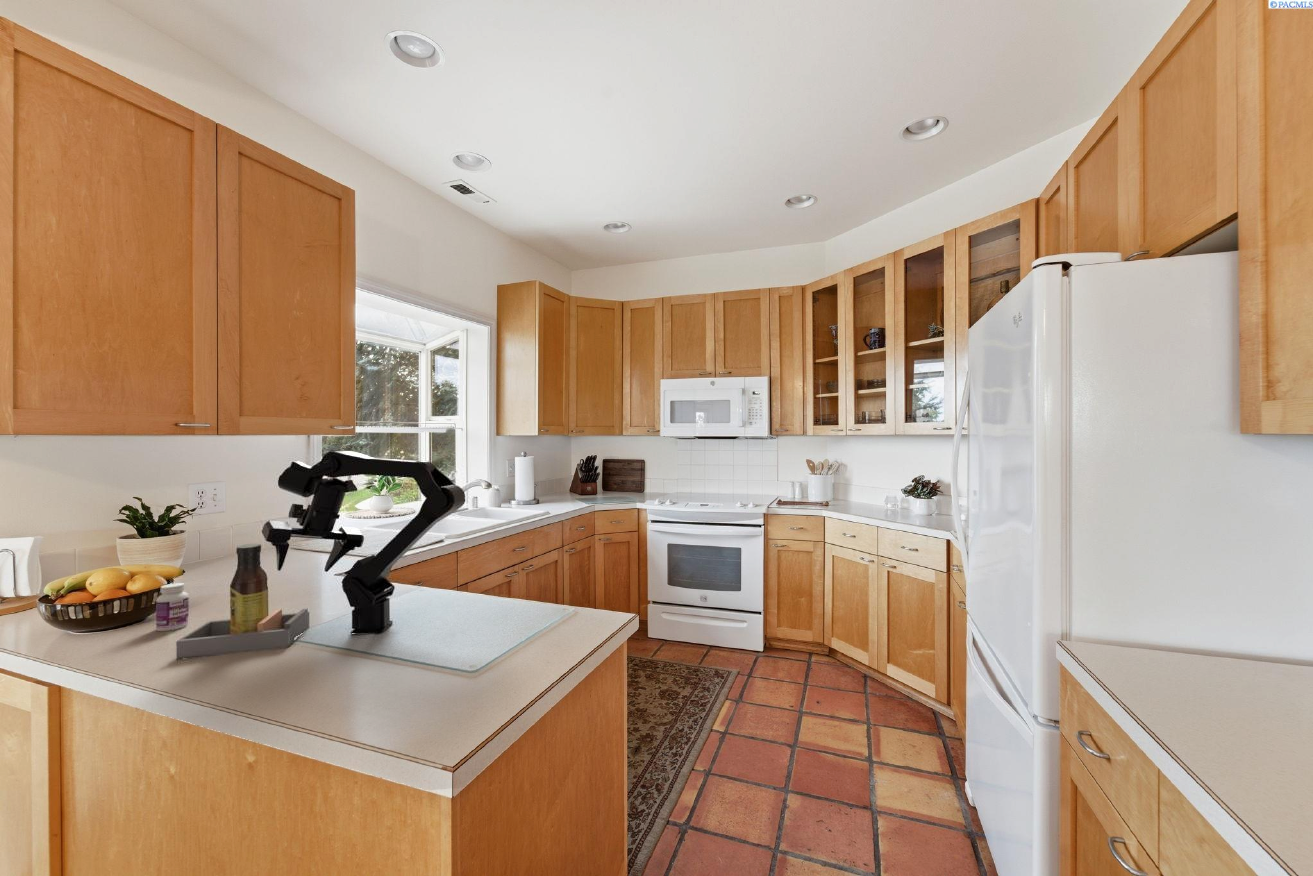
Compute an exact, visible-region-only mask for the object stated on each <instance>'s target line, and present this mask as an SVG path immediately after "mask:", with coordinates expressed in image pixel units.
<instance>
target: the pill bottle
mask: <svg viewBox="0 0 1313 876" xmlns="http://www.w3.org/2000/svg"><path fill="white" fill-rule="evenodd" d="M185 586H186V585H185V583H184V582H175V583H170V584H164V585H161V586H160V594H161V595H159V596H157V598H156V600H155V605H156V606H155V610H156V612H155V622H156V623H155V625H156V630H157V631H158V632H169V631H170V630H171V631H175V630H174V629H176V630H179V628H180V629H182V628H185V627H187V626H188V625H189V615H190V614H189V612H190V611H189V610H190V609H189V608H190V607H189V606H190V605H189V603H190V602H189V601H190V600H189V598H190V595H189V593H188V592H187V591H185V589H186V587H185ZM171 631H170V632H171Z"/></svg>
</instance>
